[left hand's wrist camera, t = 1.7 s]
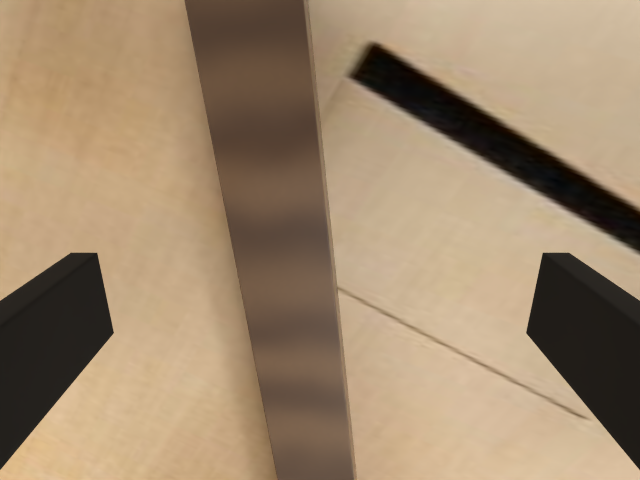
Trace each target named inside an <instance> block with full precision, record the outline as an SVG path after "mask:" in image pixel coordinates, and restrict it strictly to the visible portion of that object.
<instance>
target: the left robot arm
mask: <svg viewBox="0 0 640 480" xmlns="http://www.w3.org/2000/svg"><path fill="white" fill-rule="evenodd" d="M113 333H114V332H113V327H112V322H111V317H110V313H109V308H108V303H107V298H106V293H105V288H104V284H103V279H102V274H101V269H100V264H99V260H98V255H97V253H70V254H69V255H67V256H66V257H64V258H63V259H61V260H60V261H58V262H57V263H55V264H54V265H52V266H51V267H49V268H48V269H47V270H45V271H44V272H42V273H41V274H39V275H38V276H36V277H35V278H33V279H32V280H30V281H29V282H27V283H26V284H24V285H23V286H21V287H20V288H19V289H17V290H16V291H14V292H13V293H11V294H10V295H8V296H7V297H5V298H4V299H2V300H1V301H0V470H1V468H2V467H3V466H4V465H5V463H6V462H7V461H8V460H9V459H10V457H11V456H12V455H13V454H14V453H15V451H16V450H17V449H18V448H19V447H20V445H21V444H22V443H23V442H24V441H25V439H26V438H27V437H28V436H29V435H30V433H31V432H32V431H33V430H34V428H35V427H36V426H37V425H38V424H39V422H40V421H41V420H42V419H43V418H44V416H45V415H46V414H47V413H48V412H49V410H50V409H51V408H52V407H53V406H54V404H55V403H56V402H57V401H58V400H59V398H60V397H61V396H62V395H63V394H64V392H65V391H66V390H67V389H68V387H69V386H70V385H71V384H72V383H73V381H74V380H75V379H76V378H77V377H78V375H79V374H80V373H81V372H82V371H83V369H84V368H85V367H86V366H87V365H88V363H89V362H90V361H91V360H92V359H93V357H94V356H95V355H96V354H97V353H98V351H99V350H100V349H101V348H102V346H103V345H104V344H105V343H106V342H107V340H108V339H109V338H110V337H111V336H112V334H113ZM526 333H527V334H528V336H529V337H530V338H531V339H532V340H533V342H534V343H535V344H536V345H537V346H538V348H539V349H540V350H541V351H542V353H543V354H544V355H545V356H546V357H547V359H548V360H549V361H550V362H551V363H552V365H553V366H554V367H555V368H556V369H557V371H558V372H559V373H560V374H561V375H562V377H563V378H564V379H565V380H566V381H567V383H568V384H569V385H570V386H571V387H572V389H573V390H574V391H575V392H576V394H577V395H578V396H579V397H580V398H581V400H582V401H583V402H584V403H585V404H586V406H587V407H588V408H589V409H590V410H591V412H592V413H593V414H594V415H595V416H596V418H597V419H598V420H599V421H600V422H601V424H602V425H603V426H604V427H605V428H606V430H607V431H608V432H609V433H610V435H611V436H612V437H613V438H614V439H615V441H616V442H617V443H618V444H619V445H620V447H621V448H622V449H623V450H624V451H625V453H626V454H627V455H628V456H629V457H630V459H631V460H632V461H633V462H634V463H635V465H636V466H637V467H638V468H639V470H640V301H639V300H638V299H636V298H635V297H633V296H632V295H630V294H629V293H627V292H626V291H624V290H623V289H621V288H620V287H619V286H617V285H616V284H614V283H613V282H611V281H610V280H608V279H607V278H605V277H604V276H602V275H601V274H599V273H598V272H596V271H595V270H593V269H592V268H591V267H589V266H588V265H586V264H585V263H583V262H582V261H580V260H579V259H577V258H576V257H574V256H573V255H571V254H570V253H543V255H542V259H541V264H540V269H539V274H538V279H537V284H536V288H535V293H534V298H533V303H532V308H531V313H530V317H529V322H528V327H527V332H526Z"/></svg>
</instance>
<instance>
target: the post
mask: <svg viewBox="0 0 640 480" xmlns="http://www.w3.org/2000/svg"><path fill="white" fill-rule="evenodd" d="M185 5H186V10H187V15H188V20H189V25H190V30H191V36H192V41H193V46H194V51H195V56H196V61H197V66H198V72H199V77H200V82H201V87H202V92H203V97H204V102H205V108H206V113H207V118H208V123H209V128H210V133H211V138H212V144H213V149H214V154H215V159H216V164H217V169H218V174H219V180H220V185H221V190H222V195H223V200H224V205H225V210H226V216H227V221H228V226H229V231H230V236H231V241H232V246H233V252H234V257H235V262H236V267H237V272H238V277H239V282H240V288H241V293H242V298H243V303H244V308H245V313H246V318H247V324H248V329H249V334H250V339H251V344H252V349H253V354H254V360H255V365H256V370H257V375H258V380H259V385H260V390H261V396H262V401H263V406H264V411H265V416H266V421H267V426H268V432H269V437H270V442H271V447H272V452H273V457H274V462H275V468H276V473H277V478H278V480H357V476H356V466H355V457H354V447H353V437H352V427H351V417H350V408H349V398H348V388H347V378H346V369H345V359H344V349H343V339H342V330H341V320H340V310H339V300H338V290H337V281H336V271H335V261H334V251H333V242H332V232H331V222H330V212H329V202H328V193H327V183H326V173H325V163H324V154H323V144H322V134H321V124H320V114H319V105H318V95H317V85H316V75H315V66H314V56H313V46H312V36H311V27H310V17H309V7H308V0H185Z"/></svg>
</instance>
